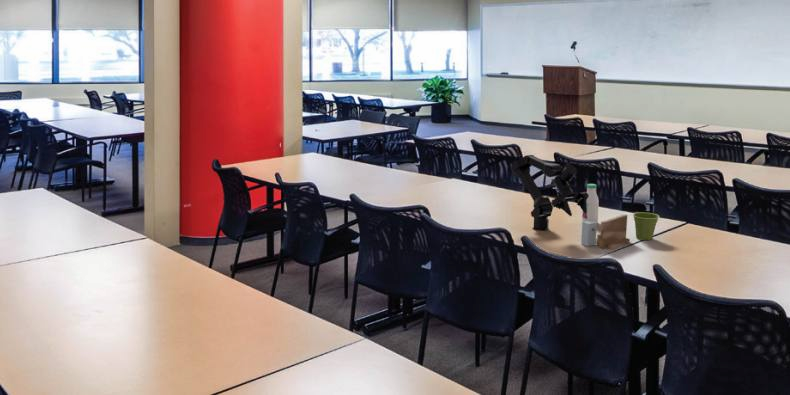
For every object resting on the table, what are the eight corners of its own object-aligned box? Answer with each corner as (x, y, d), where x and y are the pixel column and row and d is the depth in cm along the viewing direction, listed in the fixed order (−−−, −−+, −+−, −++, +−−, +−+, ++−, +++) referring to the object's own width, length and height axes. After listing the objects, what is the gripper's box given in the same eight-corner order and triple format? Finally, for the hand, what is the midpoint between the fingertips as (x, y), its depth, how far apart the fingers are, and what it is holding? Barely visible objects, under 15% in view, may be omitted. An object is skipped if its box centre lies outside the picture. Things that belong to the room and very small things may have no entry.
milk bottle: (598, 221, 373) (600, 183, 368) (597, 225, 365) (599, 186, 361) (582, 220, 375) (584, 182, 371) (581, 223, 368) (583, 185, 364)
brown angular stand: (583, 244, 331) (584, 218, 329) (605, 235, 345) (606, 211, 343) (609, 249, 322) (611, 223, 320) (631, 241, 336) (633, 216, 333)
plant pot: (630, 240, 337) (631, 217, 335) (632, 234, 348) (633, 211, 346) (657, 242, 333) (659, 219, 331) (658, 236, 344) (659, 213, 341)
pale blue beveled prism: (581, 244, 332) (582, 221, 329) (589, 242, 334) (590, 220, 332) (589, 246, 327) (590, 224, 325) (597, 245, 330) (598, 222, 328)
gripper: (569, 194, 352) (584, 221, 345) (539, 198, 343) (554, 226, 336) (581, 181, 344) (597, 208, 337) (551, 185, 335) (566, 213, 328)
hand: (578, 214), depth 335 cm, fingers open, 9 cm apart
